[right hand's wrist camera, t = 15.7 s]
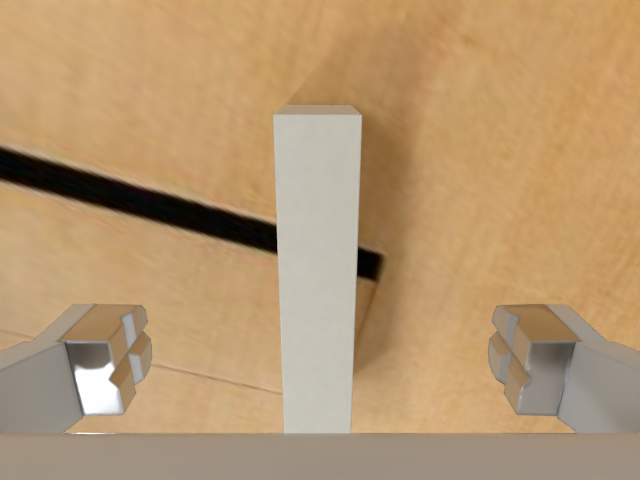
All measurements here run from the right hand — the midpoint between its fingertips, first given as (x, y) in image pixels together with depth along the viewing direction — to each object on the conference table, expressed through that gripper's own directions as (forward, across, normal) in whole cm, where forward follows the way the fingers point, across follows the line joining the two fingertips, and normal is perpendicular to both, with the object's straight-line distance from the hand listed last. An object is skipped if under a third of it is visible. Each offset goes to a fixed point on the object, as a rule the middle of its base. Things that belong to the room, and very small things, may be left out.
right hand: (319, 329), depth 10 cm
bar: (+23, 0, -8) cm, 24 cm away
